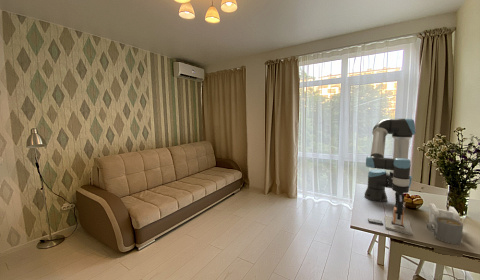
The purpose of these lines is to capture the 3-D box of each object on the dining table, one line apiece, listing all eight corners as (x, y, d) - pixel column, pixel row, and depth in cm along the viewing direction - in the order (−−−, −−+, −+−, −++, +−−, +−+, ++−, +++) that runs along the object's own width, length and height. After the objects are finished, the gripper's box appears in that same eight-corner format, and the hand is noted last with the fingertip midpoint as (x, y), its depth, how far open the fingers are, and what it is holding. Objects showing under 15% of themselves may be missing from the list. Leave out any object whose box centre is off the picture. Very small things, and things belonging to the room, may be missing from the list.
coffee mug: (457, 236, 104) (459, 219, 103) (464, 246, 96) (466, 228, 95) (423, 229, 111) (425, 212, 110) (427, 237, 103) (429, 220, 102)
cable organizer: (459, 236, 104) (461, 216, 103) (432, 229, 111) (433, 210, 109) (451, 224, 116) (453, 205, 115) (427, 218, 122) (428, 201, 121)
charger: (392, 219, 117) (393, 206, 116) (402, 222, 115) (403, 208, 114) (393, 223, 114) (394, 209, 113) (402, 225, 111) (404, 211, 110)
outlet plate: (384, 217, 125) (384, 215, 125) (408, 222, 118) (408, 220, 118) (385, 228, 112) (385, 226, 112) (412, 235, 105) (412, 233, 105)
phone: (367, 219, 122) (367, 218, 122) (381, 222, 119) (381, 220, 119) (368, 222, 119) (368, 220, 119) (382, 225, 116) (382, 223, 116)
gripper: (391, 179, 121) (389, 214, 123) (393, 187, 107) (390, 226, 109) (406, 181, 117) (404, 217, 119) (411, 190, 103) (408, 231, 105)
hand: (397, 222), depth 114 cm, fingers closed on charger, 4 cm apart
